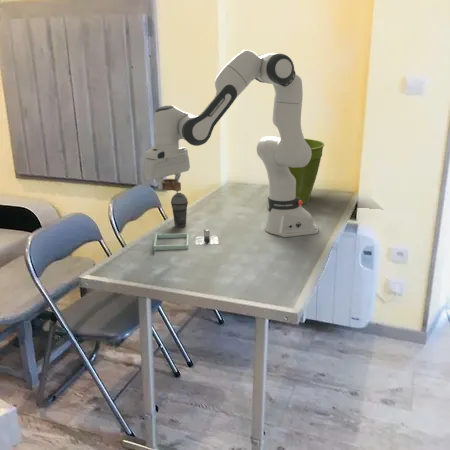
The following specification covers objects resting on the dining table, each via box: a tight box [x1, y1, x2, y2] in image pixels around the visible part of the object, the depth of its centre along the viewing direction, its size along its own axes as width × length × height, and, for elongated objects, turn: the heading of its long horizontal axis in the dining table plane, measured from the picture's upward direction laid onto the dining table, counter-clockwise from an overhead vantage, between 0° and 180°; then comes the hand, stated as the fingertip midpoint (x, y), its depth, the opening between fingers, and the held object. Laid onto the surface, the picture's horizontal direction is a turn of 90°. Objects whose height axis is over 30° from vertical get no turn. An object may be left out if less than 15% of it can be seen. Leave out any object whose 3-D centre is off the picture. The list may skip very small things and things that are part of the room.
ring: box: [160, 178, 182, 192], centre depth 198 cm, size 9×6×3 cm
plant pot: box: [267, 138, 325, 204], centre depth 259 cm, size 30×30×29 cm
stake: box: [195, 228, 219, 246], centre depth 209 cm, size 9×9×5 cm
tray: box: [153, 232, 190, 253], centre depth 207 cm, size 13×13×2 cm
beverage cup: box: [170, 191, 189, 229], centre depth 223 cm, size 7×7×20 cm
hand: (168, 186), depth 199 cm, fingers closed on ring, 6 cm apart
